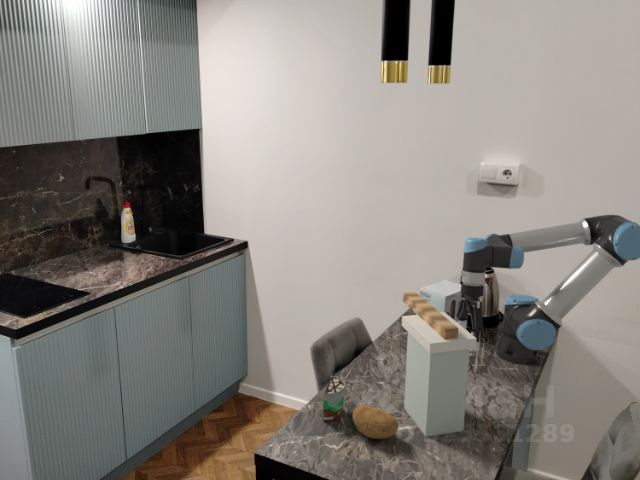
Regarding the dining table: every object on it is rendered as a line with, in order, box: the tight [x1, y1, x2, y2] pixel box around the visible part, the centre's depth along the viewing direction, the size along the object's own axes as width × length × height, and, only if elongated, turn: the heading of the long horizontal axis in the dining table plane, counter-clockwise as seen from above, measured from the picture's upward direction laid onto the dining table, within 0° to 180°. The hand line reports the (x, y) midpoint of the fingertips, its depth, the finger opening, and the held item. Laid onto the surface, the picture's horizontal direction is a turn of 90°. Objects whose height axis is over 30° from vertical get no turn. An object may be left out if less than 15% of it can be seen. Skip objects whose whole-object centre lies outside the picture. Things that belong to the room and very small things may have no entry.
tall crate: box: [401, 312, 477, 438], centre depth 177 cm, size 20×14×30 cm
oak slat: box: [402, 291, 458, 339], centre depth 179 cm, size 30×4×3 cm, turn 15°
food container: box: [322, 375, 348, 423], centre depth 182 cm, size 12×6×10 cm, turn 168°
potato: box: [352, 404, 399, 440], centre depth 171 cm, size 10×14×8 cm
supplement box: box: [418, 279, 468, 328], centre depth 244 cm, size 17×13×18 cm
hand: (467, 344), depth 203 cm, fingers open, 13 cm apart
